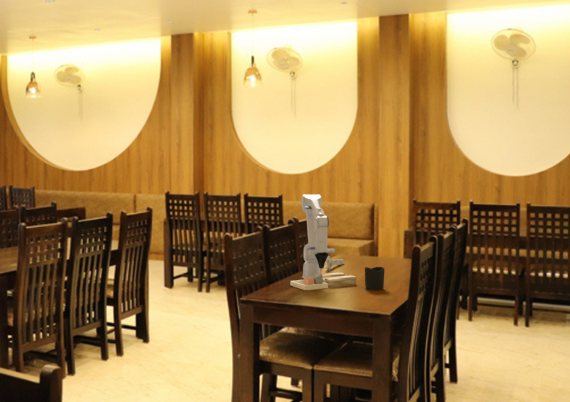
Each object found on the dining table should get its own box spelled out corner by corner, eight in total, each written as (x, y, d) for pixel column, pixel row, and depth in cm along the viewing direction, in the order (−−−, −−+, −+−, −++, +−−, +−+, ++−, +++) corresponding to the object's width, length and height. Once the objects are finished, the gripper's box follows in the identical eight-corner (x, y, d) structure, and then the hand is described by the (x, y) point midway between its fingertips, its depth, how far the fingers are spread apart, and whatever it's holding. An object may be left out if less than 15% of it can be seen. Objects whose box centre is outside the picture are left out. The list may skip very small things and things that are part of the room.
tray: (290, 285, 315) (290, 281, 315) (313, 283, 321) (313, 278, 321) (305, 290, 303) (305, 285, 302) (328, 287, 309) (328, 283, 309)
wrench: (344, 269, 383) (326, 270, 355) (341, 268, 383) (323, 270, 356) (344, 255, 383) (327, 256, 356) (341, 255, 384) (324, 255, 357)
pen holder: (368, 286, 314) (368, 265, 313) (386, 287, 310) (387, 267, 309) (361, 289, 306) (361, 268, 305) (380, 291, 301) (380, 270, 301)
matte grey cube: (312, 283, 314) (310, 276, 314) (319, 279, 316) (317, 273, 315) (317, 284, 311) (315, 278, 310) (323, 281, 313) (321, 274, 312)
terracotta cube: (309, 284, 314) (303, 285, 313) (309, 276, 314) (303, 277, 313) (314, 286, 311) (308, 286, 309) (314, 278, 311) (308, 278, 309)
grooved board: (313, 282, 321) (313, 275, 321) (340, 280, 329) (340, 272, 329) (329, 287, 309) (329, 279, 309) (356, 284, 317) (356, 276, 317)
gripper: (313, 242, 308) (313, 270, 308) (338, 240, 315) (338, 268, 315) (305, 240, 314) (305, 268, 315) (330, 239, 321) (330, 266, 322)
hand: (321, 268), depth 315 cm, fingers closed
